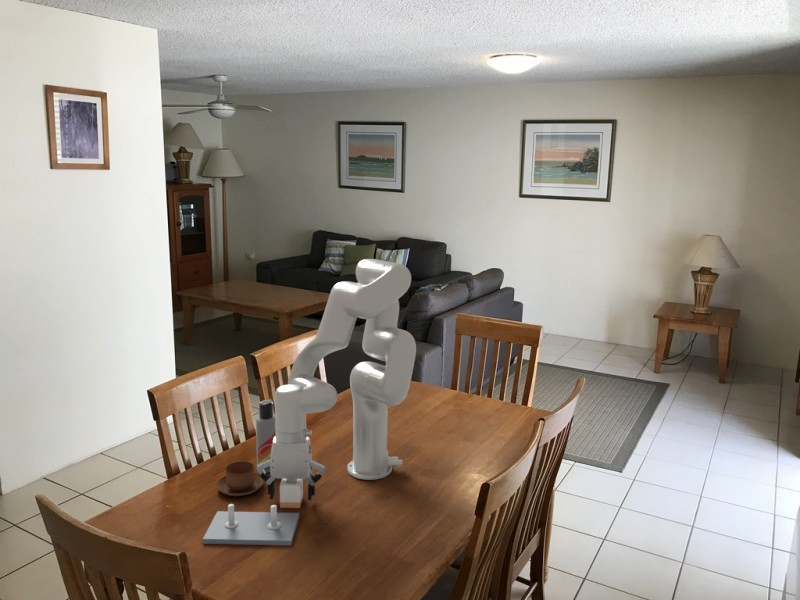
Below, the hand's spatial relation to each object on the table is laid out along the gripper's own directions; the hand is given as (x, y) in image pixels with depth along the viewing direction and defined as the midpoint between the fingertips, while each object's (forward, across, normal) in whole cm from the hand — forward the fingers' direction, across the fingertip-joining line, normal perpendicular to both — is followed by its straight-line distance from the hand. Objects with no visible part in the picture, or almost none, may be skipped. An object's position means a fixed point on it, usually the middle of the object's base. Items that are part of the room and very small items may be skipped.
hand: (291, 497), depth 168 cm
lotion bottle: (+2, +10, -19) cm, 22 cm away
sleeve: (+2, 0, 0) cm, 2 cm away
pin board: (+2, +7, +13) cm, 15 cm away
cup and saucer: (+2, +15, -7) cm, 16 cm away
